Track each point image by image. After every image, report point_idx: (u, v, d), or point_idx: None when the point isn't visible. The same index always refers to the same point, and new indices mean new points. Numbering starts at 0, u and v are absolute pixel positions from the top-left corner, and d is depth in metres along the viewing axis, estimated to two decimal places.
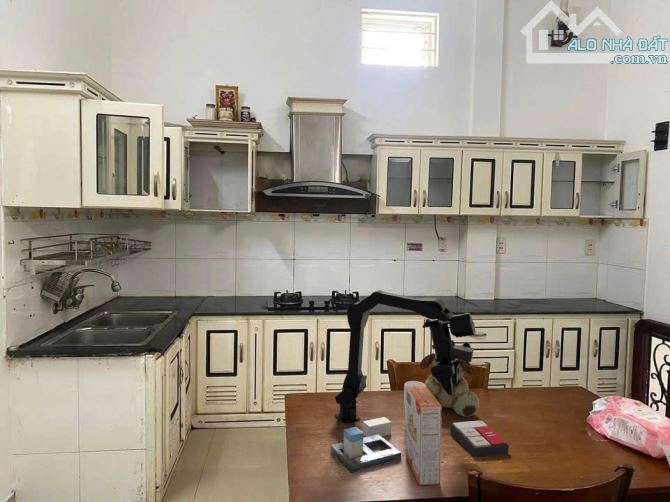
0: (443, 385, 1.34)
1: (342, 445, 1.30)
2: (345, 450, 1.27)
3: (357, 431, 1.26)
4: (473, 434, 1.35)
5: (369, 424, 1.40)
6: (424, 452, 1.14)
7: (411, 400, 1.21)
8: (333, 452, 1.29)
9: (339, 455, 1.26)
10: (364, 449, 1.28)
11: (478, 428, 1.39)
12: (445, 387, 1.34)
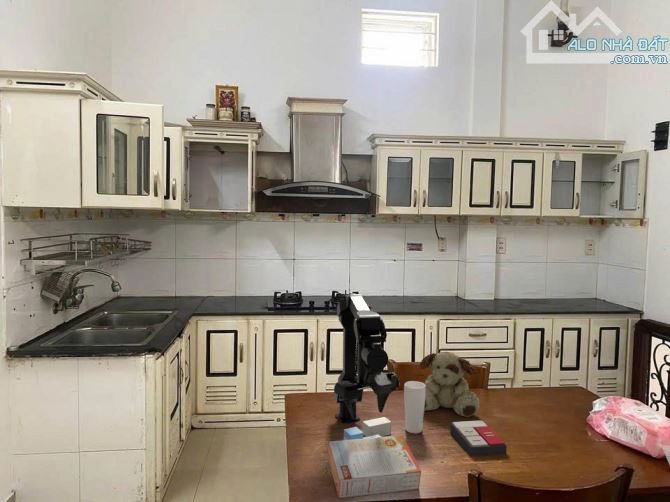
0: (347, 406, 1.23)
1: None
2: None
3: (357, 431, 1.26)
4: (471, 434, 1.35)
5: (369, 424, 1.40)
6: (386, 489, 1.10)
7: None
8: None
9: None
10: None
11: (477, 428, 1.39)
12: (349, 408, 1.23)
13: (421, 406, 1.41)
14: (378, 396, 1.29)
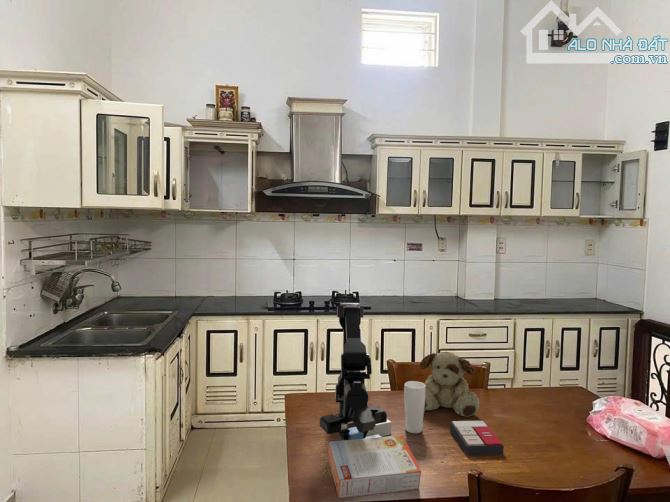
0: (341, 437, 1.26)
1: None
2: None
3: (357, 431, 1.26)
4: (469, 433, 1.36)
5: None
6: (386, 489, 1.10)
7: None
8: None
9: None
10: None
11: (476, 428, 1.39)
12: None
13: (421, 406, 1.41)
14: None
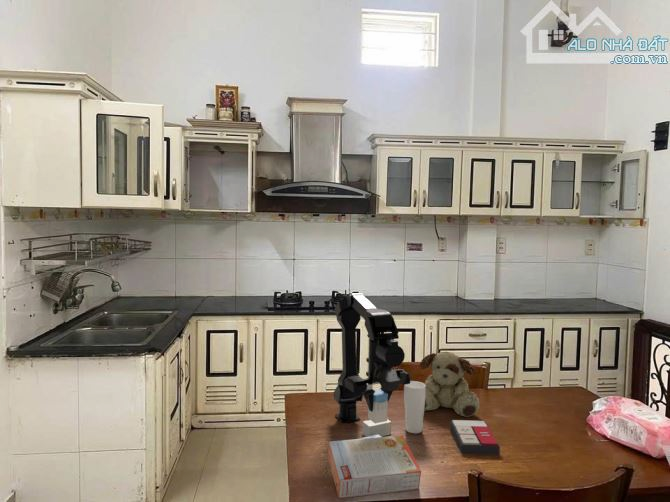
0: (365, 398, 1.29)
1: None
2: (370, 411, 1.29)
3: (381, 392, 1.29)
4: (467, 432, 1.36)
5: (369, 424, 1.40)
6: (386, 489, 1.10)
7: None
8: None
9: None
10: None
11: (475, 427, 1.39)
12: (366, 401, 1.29)
13: (421, 406, 1.41)
14: None
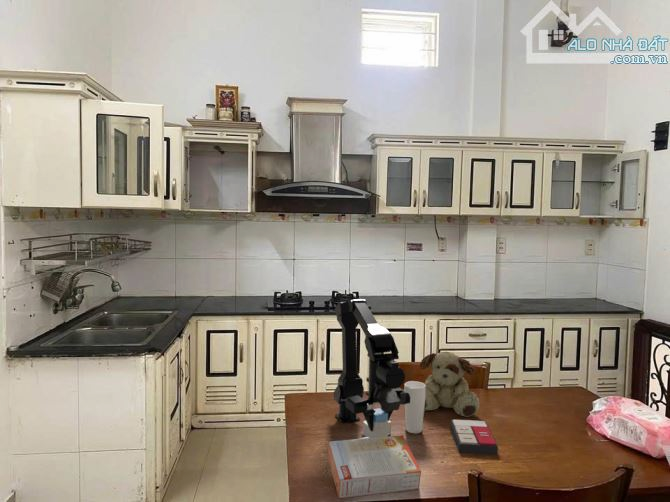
0: (365, 418, 1.29)
1: None
2: None
3: (381, 411, 1.30)
4: (465, 432, 1.37)
5: None
6: (386, 489, 1.10)
7: None
8: None
9: None
10: None
11: (475, 427, 1.39)
12: (367, 421, 1.29)
13: (421, 406, 1.41)
14: None
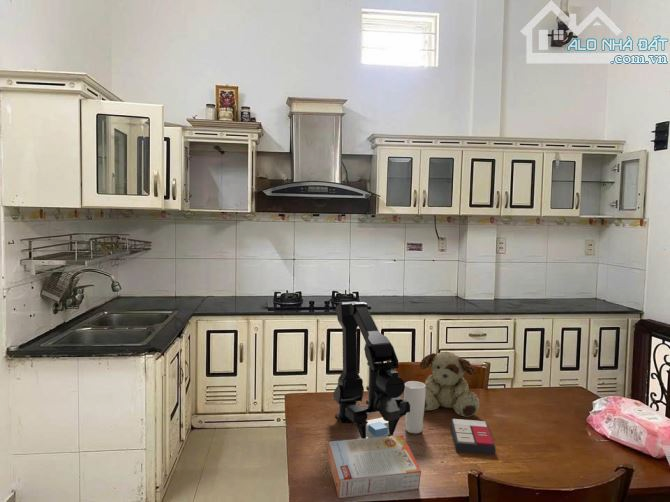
0: (358, 428, 1.28)
1: None
2: None
3: (381, 425, 1.30)
4: (464, 431, 1.37)
5: None
6: (386, 489, 1.10)
7: None
8: None
9: None
10: None
11: (474, 427, 1.40)
12: (359, 431, 1.28)
13: (421, 406, 1.41)
14: (389, 419, 1.33)
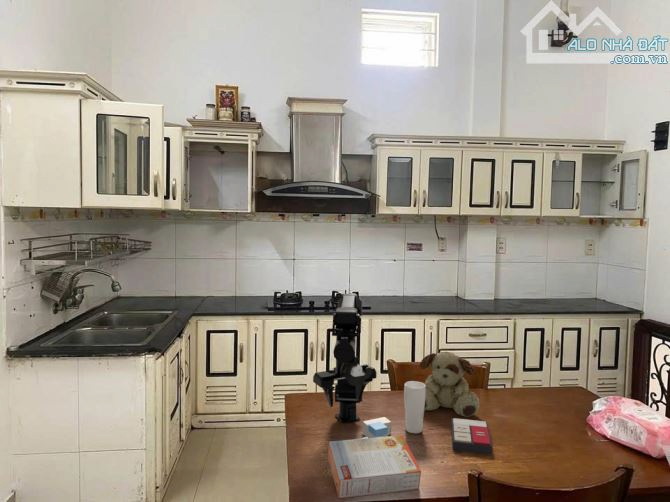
0: (326, 394, 1.32)
1: None
2: None
3: (381, 425, 1.30)
4: (462, 430, 1.38)
5: None
6: (386, 489, 1.10)
7: None
8: None
9: None
10: None
11: (473, 427, 1.40)
12: (327, 397, 1.32)
13: (421, 406, 1.41)
14: (356, 386, 1.37)
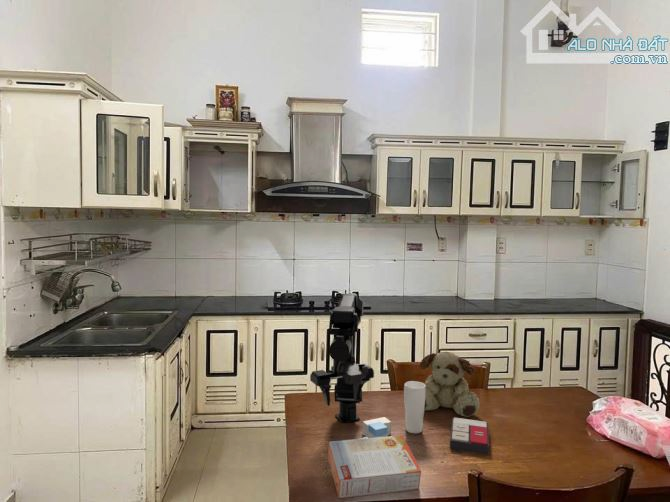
0: (323, 393, 1.33)
1: None
2: None
3: (381, 425, 1.30)
4: (461, 430, 1.38)
5: None
6: (386, 489, 1.10)
7: None
8: None
9: None
10: None
11: (473, 426, 1.40)
12: (324, 396, 1.33)
13: (421, 406, 1.41)
14: (354, 385, 1.38)
